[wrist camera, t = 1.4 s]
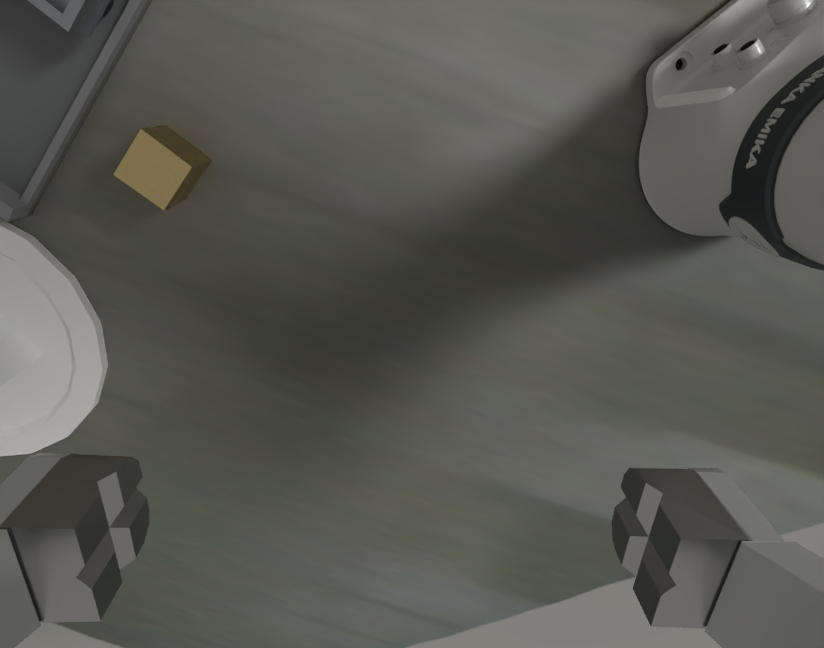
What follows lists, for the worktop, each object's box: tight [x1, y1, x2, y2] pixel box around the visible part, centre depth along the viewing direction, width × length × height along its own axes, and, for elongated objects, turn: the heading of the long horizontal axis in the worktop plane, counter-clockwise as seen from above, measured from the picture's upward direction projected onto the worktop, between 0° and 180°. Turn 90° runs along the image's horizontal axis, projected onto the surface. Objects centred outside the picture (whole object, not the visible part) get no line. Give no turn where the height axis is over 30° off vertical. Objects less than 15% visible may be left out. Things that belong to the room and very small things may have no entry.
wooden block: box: [113, 125, 212, 210], centre depth 39 cm, size 4×4×4 cm
